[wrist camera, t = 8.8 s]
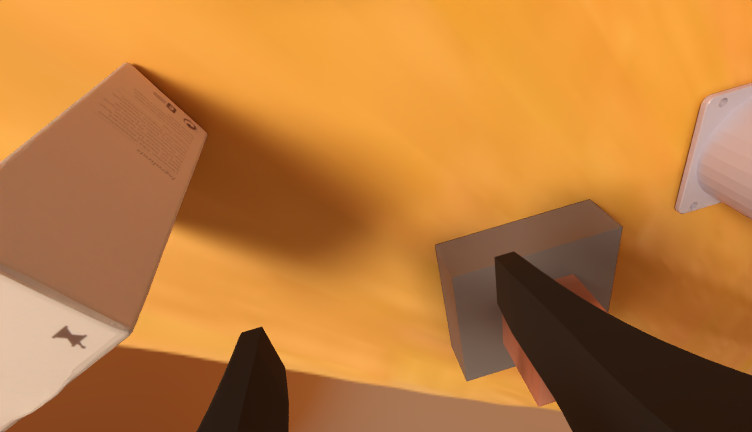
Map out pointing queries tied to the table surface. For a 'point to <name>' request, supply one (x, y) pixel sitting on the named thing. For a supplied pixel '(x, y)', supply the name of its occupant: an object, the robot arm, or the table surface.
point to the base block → (539, 247)
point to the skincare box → (86, 232)
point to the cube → (520, 358)
